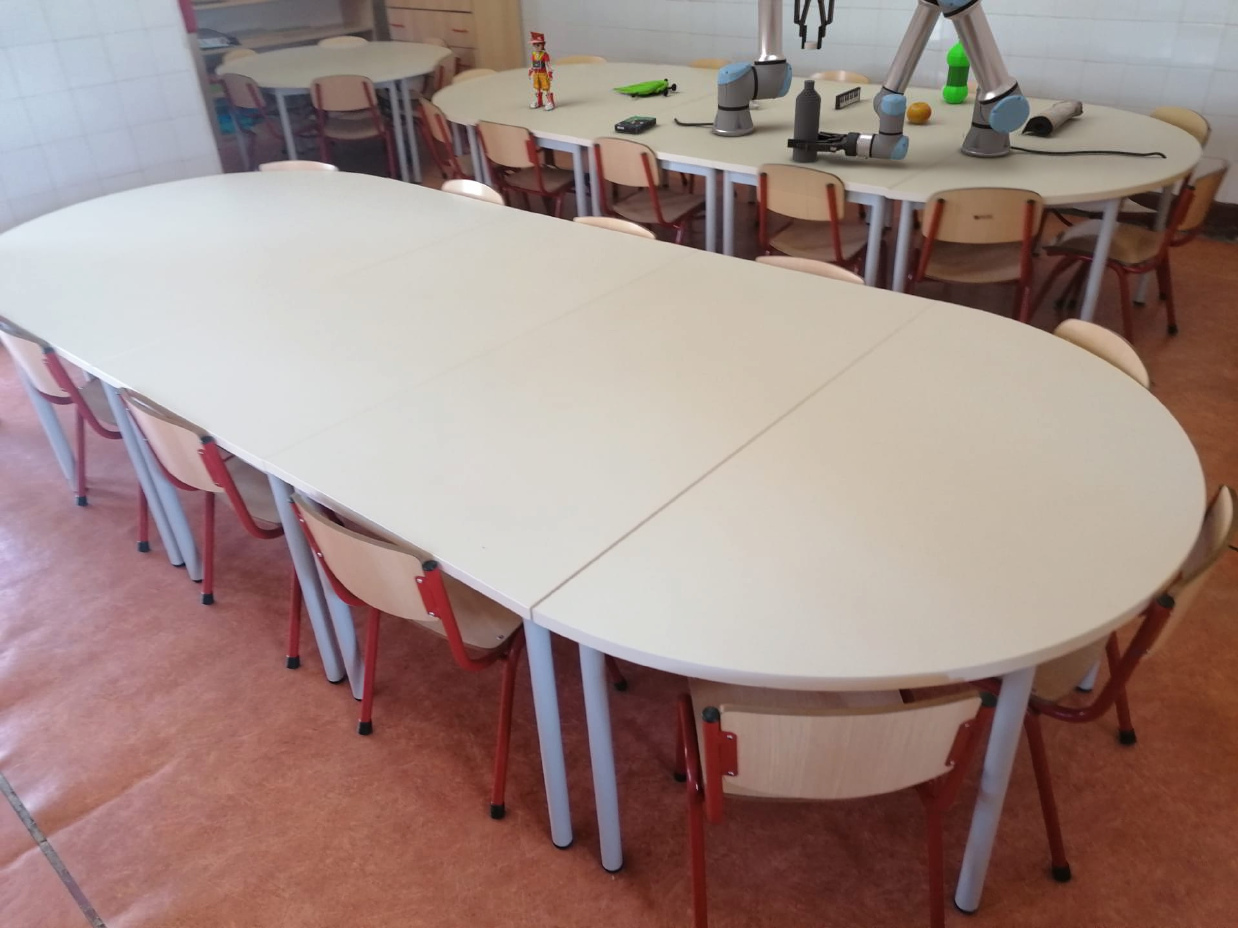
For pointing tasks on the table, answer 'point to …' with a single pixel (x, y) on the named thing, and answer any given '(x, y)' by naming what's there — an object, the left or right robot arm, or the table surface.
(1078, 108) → the rolled mat
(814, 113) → the bottle
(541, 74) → the toy
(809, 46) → the cap
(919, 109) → the fruit
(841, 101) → the midi keyboard
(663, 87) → the toy
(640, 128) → the disk drive
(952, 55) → the plastic bottle
